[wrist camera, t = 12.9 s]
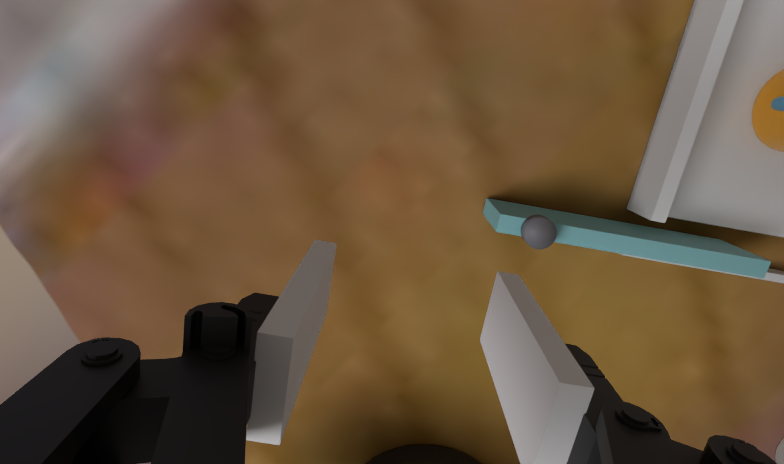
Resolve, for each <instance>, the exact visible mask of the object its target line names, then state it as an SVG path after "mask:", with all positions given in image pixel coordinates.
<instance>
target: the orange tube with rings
mask: <svg viewBox="0 0 784 464" xmlns="http://www.w3.org/2000/svg"><path fill="white" fill-rule="evenodd" d="M752 124H753V129H754V131H755V133H756V135H757V137H758V138H759V139H760V141H761V142H762V143H764V144H765V145H766V146H768V147H769V148H771V149H773V150H776V151H780V152H784V69H783V70H781V71H780V72H778V73H777V74H775V75H774V76H773V77H772V78H770V79H769V80H768V81H767V82H766V84H765V85H764V86H763V87H762V88H761V90H760V92H759V94H758V95H757V97H756V100H755V102H754V105H753V110H752Z"/></svg>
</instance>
